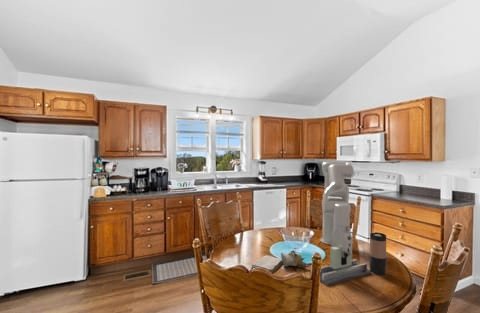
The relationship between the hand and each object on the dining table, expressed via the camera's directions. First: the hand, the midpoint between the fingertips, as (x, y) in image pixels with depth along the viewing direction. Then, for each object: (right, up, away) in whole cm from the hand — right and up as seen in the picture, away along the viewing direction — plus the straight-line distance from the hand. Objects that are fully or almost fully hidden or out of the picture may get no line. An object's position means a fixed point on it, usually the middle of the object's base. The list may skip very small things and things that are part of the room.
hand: (341, 262), depth 126 cm
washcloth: (-37, -6, +9) cm, 39 cm away
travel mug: (+21, -6, +3) cm, 22 cm away
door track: (0, -6, 0) cm, 6 cm away
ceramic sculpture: (-22, -6, +9) cm, 25 cm away
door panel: (0, -2, 0) cm, 2 cm away
